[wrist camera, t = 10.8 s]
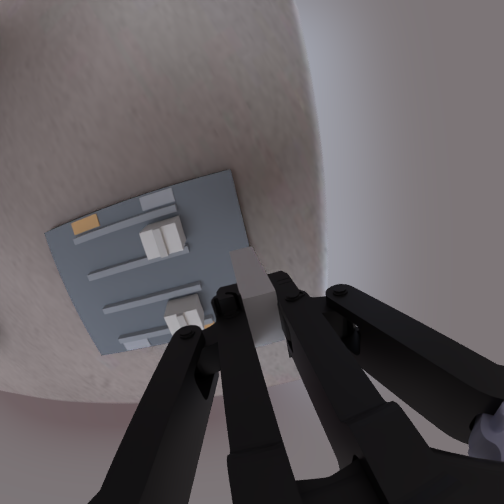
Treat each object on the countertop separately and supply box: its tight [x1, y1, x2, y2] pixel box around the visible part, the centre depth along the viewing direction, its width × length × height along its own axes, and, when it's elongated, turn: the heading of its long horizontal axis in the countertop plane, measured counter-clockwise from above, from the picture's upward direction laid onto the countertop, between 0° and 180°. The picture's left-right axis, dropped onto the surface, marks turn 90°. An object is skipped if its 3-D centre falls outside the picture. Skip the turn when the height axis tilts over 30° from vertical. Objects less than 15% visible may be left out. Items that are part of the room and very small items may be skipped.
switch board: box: [44, 169, 249, 355], centre depth 33 cm, size 26×20×3 cm
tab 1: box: [139, 215, 186, 260], centre depth 28 cm, size 4×3×5 cm
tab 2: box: [164, 294, 204, 336], centre depth 32 cm, size 4×3×5 cm
